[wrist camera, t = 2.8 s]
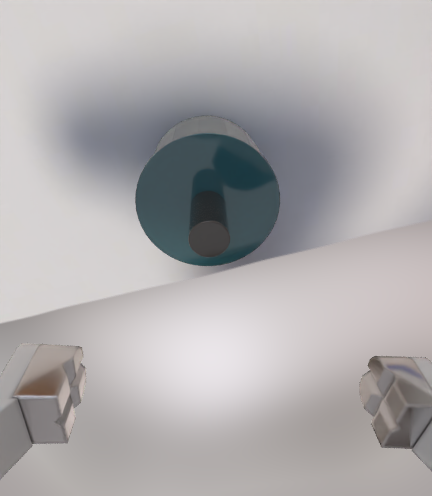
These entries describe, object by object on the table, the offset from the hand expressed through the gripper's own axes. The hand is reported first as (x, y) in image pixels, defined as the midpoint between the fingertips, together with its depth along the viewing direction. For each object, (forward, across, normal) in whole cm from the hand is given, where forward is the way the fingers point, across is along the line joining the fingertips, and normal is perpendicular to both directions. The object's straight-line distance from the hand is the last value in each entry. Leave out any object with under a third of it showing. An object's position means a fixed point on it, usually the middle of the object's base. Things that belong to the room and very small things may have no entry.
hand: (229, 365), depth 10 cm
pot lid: (+15, 0, +2) cm, 16 cm away
